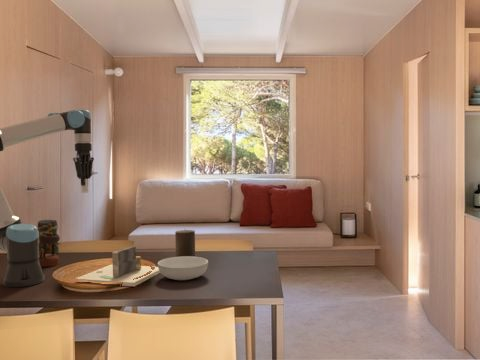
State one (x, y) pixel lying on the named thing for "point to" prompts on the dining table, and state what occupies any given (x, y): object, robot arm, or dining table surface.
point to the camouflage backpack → (53, 230)
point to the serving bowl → (182, 267)
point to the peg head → (125, 261)
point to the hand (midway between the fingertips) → (84, 192)
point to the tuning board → (127, 279)
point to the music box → (48, 247)
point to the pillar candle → (185, 243)
